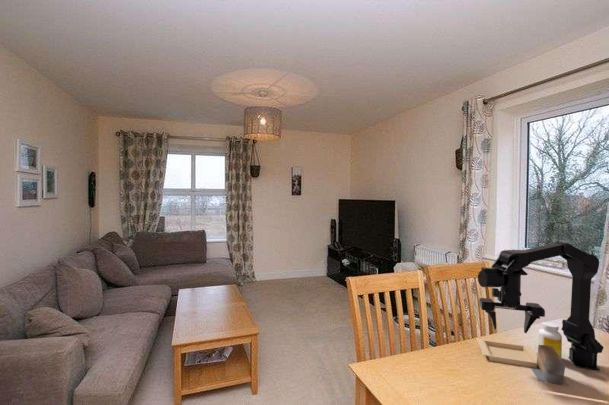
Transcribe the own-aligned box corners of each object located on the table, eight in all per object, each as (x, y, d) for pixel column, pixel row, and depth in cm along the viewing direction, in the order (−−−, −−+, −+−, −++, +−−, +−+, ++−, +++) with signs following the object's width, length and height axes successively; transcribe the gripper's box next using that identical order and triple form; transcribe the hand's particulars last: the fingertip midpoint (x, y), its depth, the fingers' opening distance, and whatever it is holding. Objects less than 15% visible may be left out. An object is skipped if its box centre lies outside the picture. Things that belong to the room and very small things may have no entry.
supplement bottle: (566, 364, 110) (567, 328, 110) (547, 364, 110) (548, 328, 110) (551, 354, 117) (552, 320, 116) (533, 354, 117) (534, 320, 117)
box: (550, 364, 106) (553, 346, 104) (562, 385, 97) (565, 365, 96) (536, 362, 107) (538, 344, 105) (546, 382, 99) (549, 363, 97)
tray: (530, 352, 119) (530, 346, 119) (543, 370, 106) (544, 363, 106) (476, 344, 125) (476, 338, 125) (483, 361, 112) (483, 354, 112)
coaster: (558, 373, 104) (558, 371, 104) (569, 387, 97) (569, 385, 97) (530, 369, 107) (530, 367, 107) (538, 382, 100) (539, 380, 100)
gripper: (533, 283, 114) (532, 325, 114) (476, 278, 120) (475, 318, 120) (546, 292, 103) (545, 338, 104) (482, 286, 109) (481, 330, 110)
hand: (509, 330), depth 110 cm, fingers open, 9 cm apart
